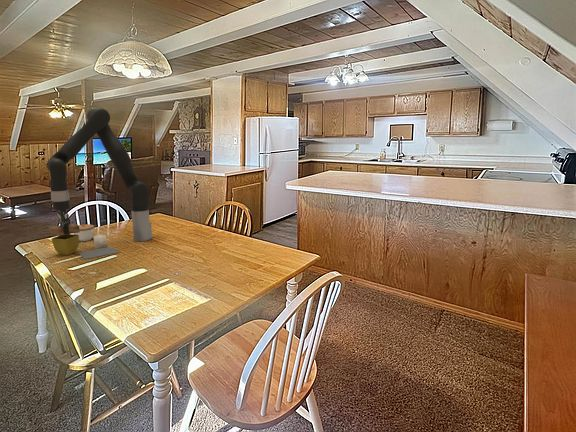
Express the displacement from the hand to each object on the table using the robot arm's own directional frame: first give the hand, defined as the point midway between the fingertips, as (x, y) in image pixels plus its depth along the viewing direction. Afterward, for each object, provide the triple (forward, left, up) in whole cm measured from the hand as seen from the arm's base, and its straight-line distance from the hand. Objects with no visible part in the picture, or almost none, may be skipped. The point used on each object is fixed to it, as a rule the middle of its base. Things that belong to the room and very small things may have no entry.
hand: (65, 232), depth 185 cm
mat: (-12, +10, -11) cm, 19 cm away
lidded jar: (-13, -20, -11) cm, 26 cm away
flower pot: (0, 0, -11) cm, 11 cm away
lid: (0, 0, 0) cm, 0 cm away
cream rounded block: (-16, -1, -11) cm, 19 cm away
